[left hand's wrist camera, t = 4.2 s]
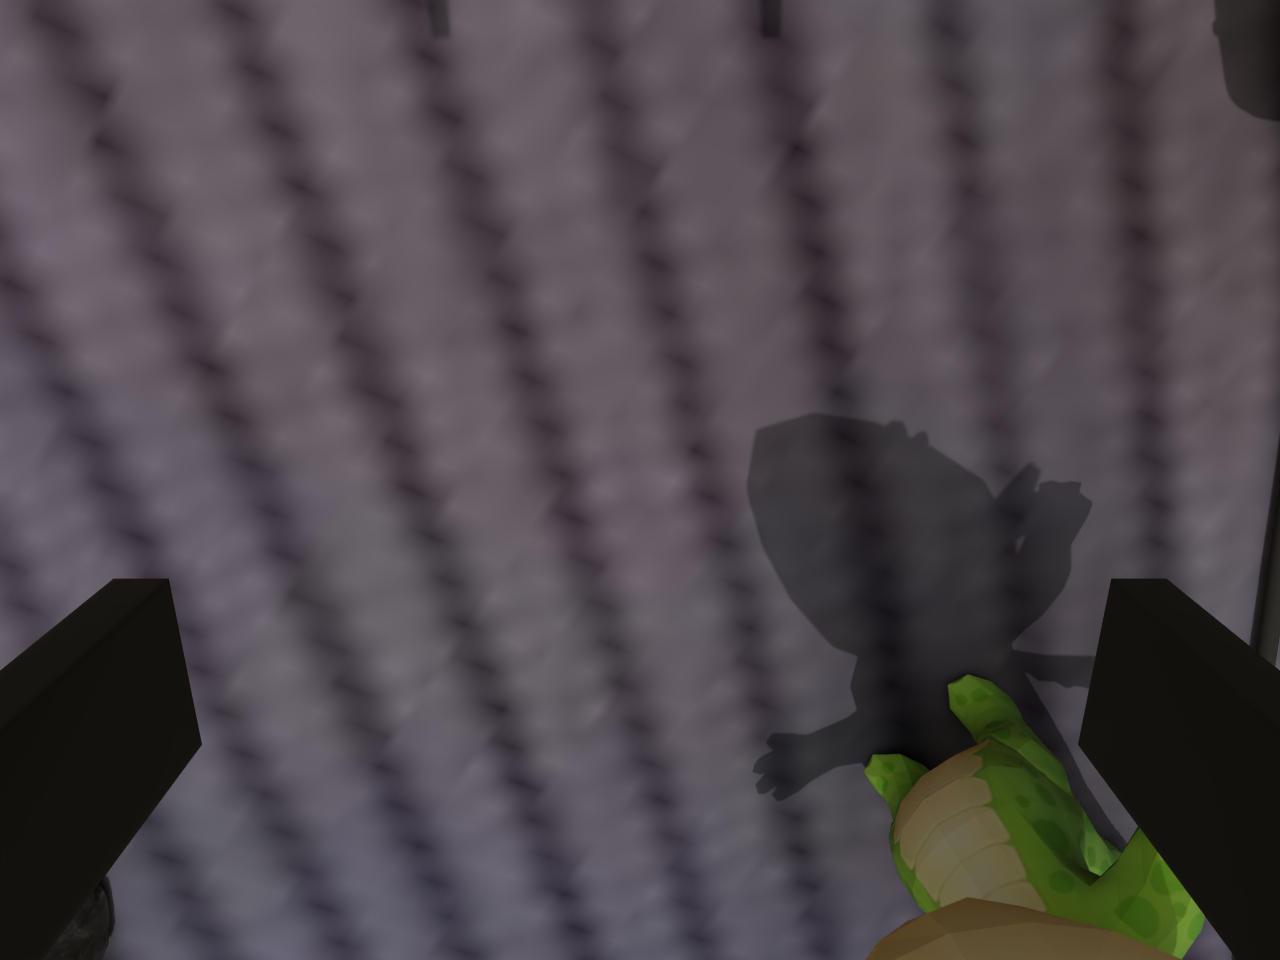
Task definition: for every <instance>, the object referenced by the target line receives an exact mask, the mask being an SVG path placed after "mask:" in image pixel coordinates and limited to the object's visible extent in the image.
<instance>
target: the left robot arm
mask: <svg viewBox="0 0 1280 960" xmlns="http://www.w3.org/2000/svg"><path fill="white" fill-rule="evenodd" d="M1279 637H1280V494H1279V501H1278V507H1277V514H1276V520H1275V527H1274V533H1273V540H1272V546H1271V553H1270V560H1269V567H1268V573H1267V580H1266V587H1265V594H1264V601H1263V608H1262V615H1261V622H1260V629H1259V636H1258V643H1257V650H1256V651H1255V650H1254V649H1252V648H1251V647H1250V646H1249V645H1248V644H1246V643H1245V642H1244V641H1243V640H1241V639H1240V638H1239V637H1238V636H1236V635H1235V634H1234V633H1233V632H1231V631H1230V630H1229V629H1228V628H1227V627H1225V626H1224V625H1223V624H1222V623H1220V622H1219V621H1218V620H1217V619H1215V618H1214V617H1213V616H1212V615H1210V614H1209V613H1208V612H1207V611H1206V610H1204V609H1203V608H1202V607H1201V606H1199V605H1198V604H1197V603H1196V602H1194V601H1193V600H1192V599H1191V598H1190V597H1188V596H1187V595H1186V594H1185V593H1183V592H1182V591H1181V590H1180V589H1178V588H1177V587H1176V586H1175V585H1173V584H1172V583H1171V582H1170V581H1169V580H1167V579H1111V583H1110V588H1109V593H1108V598H1107V603H1106V608H1105V613H1104V618H1103V623H1102V628H1101V633H1100V638H1099V643H1098V648H1097V653H1096V658H1095V663H1094V668H1093V673H1092V678H1091V683H1090V688H1089V693H1088V698H1087V703H1086V708H1085V713H1084V718H1083V723H1082V728H1081V733H1080V738H1079V743H1078V745H1079V747H1080V748H1081V749H1082V751H1083V752H1084V753H1085V755H1086V756H1087V757H1088V759H1089V760H1090V761H1091V763H1092V764H1093V765H1094V767H1095V768H1096V770H1097V771H1098V772H1099V774H1100V775H1101V776H1102V778H1103V779H1104V780H1105V782H1106V783H1107V784H1108V786H1109V787H1110V788H1111V790H1112V791H1113V792H1114V794H1115V795H1116V797H1117V798H1118V799H1119V801H1120V802H1121V803H1122V805H1123V806H1124V807H1125V809H1126V810H1127V811H1128V813H1129V814H1130V815H1131V817H1132V818H1133V820H1134V821H1135V822H1136V824H1137V825H1138V826H1139V828H1140V829H1141V830H1142V832H1143V833H1144V834H1145V836H1146V837H1147V838H1148V840H1149V841H1150V843H1151V844H1152V845H1153V847H1154V848H1155V849H1156V851H1157V852H1158V853H1159V855H1160V856H1161V857H1162V859H1163V860H1164V861H1165V863H1166V864H1167V865H1168V867H1169V868H1170V870H1171V871H1172V872H1173V874H1174V875H1175V876H1176V878H1177V879H1178V880H1179V882H1180V883H1181V884H1182V886H1183V887H1184V888H1185V890H1186V891H1187V893H1188V894H1189V895H1190V897H1191V898H1192V899H1193V901H1194V902H1195V903H1196V905H1197V906H1198V907H1199V909H1200V910H1201V911H1202V913H1203V914H1204V916H1205V917H1206V918H1207V920H1208V921H1209V922H1210V924H1211V925H1212V926H1213V928H1214V929H1215V930H1216V932H1217V933H1218V934H1219V936H1220V937H1221V938H1222V940H1223V941H1224V943H1225V944H1226V945H1227V947H1228V948H1229V949H1230V951H1231V952H1232V953H1233V955H1234V956H1235V957H1236V959H1237V960H1280V670H1278V669H1277V668H1276V667H1275V663H1276V657H1277V650H1278V644H1279ZM201 745H202V743H201V738H200V733H199V728H198V723H197V718H196V713H195V708H194V703H193V698H192V693H191V688H190V683H189V678H188V673H187V668H186V663H185V658H184V653H183V648H182V643H181V638H180V633H179V628H178V623H177V618H176V613H175V608H174V603H173V598H172V593H171V588H170V583H169V579H113V580H111V581H110V582H109V583H108V584H107V585H105V586H104V587H103V588H102V589H100V590H99V591H98V592H97V593H95V594H94V595H93V596H92V597H90V598H89V599H88V600H87V601H86V602H84V603H83V604H82V605H81V606H79V607H78V608H77V609H76V610H74V611H73V612H72V613H71V614H70V615H68V616H67V617H66V618H65V619H63V620H62V621H61V622H60V623H58V624H57V625H56V626H55V627H53V628H52V629H51V630H50V631H49V632H47V633H46V634H45V635H44V636H42V637H41V638H40V639H39V640H37V641H36V642H35V643H34V644H32V645H31V646H30V647H29V648H28V649H26V650H25V651H24V652H23V653H21V654H20V655H19V656H18V657H16V658H15V659H14V660H13V661H11V662H10V663H9V664H8V665H7V666H5V667H4V668H3V669H2V670H0V960H43V959H44V957H45V956H46V955H47V953H48V952H49V951H50V949H51V948H52V947H53V945H54V944H55V943H56V941H57V940H58V938H59V937H60V936H61V934H62V933H63V932H64V930H65V929H66V928H67V926H68V925H69V924H70V922H71V921H72V920H73V918H74V917H75V916H76V914H77V913H78V911H79V910H80V909H81V907H82V906H83V905H84V903H85V902H86V901H87V899H88V898H89V897H90V895H91V894H92V893H93V891H94V890H95V888H96V887H97V886H98V884H99V883H100V882H101V880H102V879H103V878H104V876H105V875H106V874H107V872H108V871H109V870H110V868H111V867H112V865H113V864H114V863H115V861H116V860H117V859H118V857H119V856H120V855H121V853H122V852H123V851H124V849H125V848H126V847H127V845H128V844H129V843H130V841H131V840H132V838H133V837H134V836H135V834H136V833H137V832H138V830H139V829H140V828H141V826H142V825H143V824H144V822H145V821H146V820H147V818H148V817H149V815H150V814H151V813H152V811H153V810H154V809H155V807H156V806H157V805H158V803H159V802H160V801H161V799H162V798H163V797H164V795H165V794H166V792H167V791H168V790H169V788H170V787H171V786H172V784H173V783H174V782H175V780H176V779H177V778H178V776H179V775H180V774H181V772H182V771H183V770H184V768H185V767H186V765H187V764H188V763H189V761H190V760H191V759H192V757H193V756H194V755H195V753H196V752H197V751H198V749H199V748H200V747H201Z"/></svg>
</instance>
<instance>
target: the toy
mask: <svg viewBox="0 0 1280 960" xmlns="http://www.w3.org/2000/svg"><path fill="white" fill-rule="evenodd" d="M948 693H949V703H950V709H951V710H952V711H953V712H954V714H955V715H956V716H957V717H958V718H959V720H960V721H961V722H962V723H963V724H964V726H965V727H966V728H967V729H968V730H969V732H970V733H971V734H972V736H973V738H974V740H975V742H976V744H977V745H976V746H973V747H971V748H969V749H967V750H965V751H962V752H960V753H958V754H956V755H954V756H953V757H951V758H949V759H948V760H946V761H945V762H943V763H942V764H940V765H939V766H937V767H936V768H934V769H933V770H931V771H930V770H929V769H928V768H926V767H925V766H924V765H922V764H920V763H918V762H916V761H914V760H912V759H910V758H907V757H905V756H903V755H901V754H873V756H872V757H871V759H870V761H869V763H868V765H867V767H866V768H865V770H864V772H865V774H866V776H867V777H868V779H869V780H870V782H871V784H872V785H873V787H874V788H875V789H876V791H877V792H878V793H879V794H880V795H881V796H882V797H883V798H884V799H885V800H886V801H887V803H888V804H889V807H890V810H891V813H892V818H893V821H892V823H891V828H890V835H889V841H890V847H891V852H892V857H893V861H894V863H895V865H896V868H897V872H898V875H899V878H900V879H901V881H902V882H903V884H904V885H905V887H906V888H907V890H908V891H909V893H910V894H911V896H912V897H913V899H914V900H915V902H916V903H917V905H918V906H919V907H920V908H921V909H922V910H923V911H924V912H925V913H926V914H924V915H922V916H919V917H917V918H914V919H912V920H910V921H907V922H906V923H904V924H903V925H901V926H900V927H899V928H897V929H896V930H894V931H893V932H892V933H890V934H889V935H887V936H886V937H884V938H883V939H882V940H880V941H879V942H878V943H877V944H876V946H875V947H874V948H873V950H872V951H871V953H870V954H869V956H868V957H867V959H866V960H1183V959H1182V958H1183V956H1184V955H1185V953H1186V952H1187V950H1188V949H1189V947H1190V946H1191V945H1192V943H1193V942H1194V940H1195V939H1196V937H1197V936H1198V934H1199V933H1200V932H1201V929H1202V926H1203V923H1204V919H1205V916H1204V914H1203V913H1202V911H1201V910H1200V909H1199V907H1198V906H1197V905H1196V903H1195V902H1194V901H1193V899H1192V898H1191V897H1190V895H1189V894H1188V893H1187V891H1186V890H1185V888H1184V887H1183V886H1182V884H1181V883H1180V882H1179V880H1178V879H1177V878H1176V876H1175V875H1174V874H1173V872H1172V871H1171V870H1170V868H1169V867H1168V865H1167V864H1166V863H1165V861H1164V860H1163V859H1162V857H1161V856H1160V855H1159V853H1158V852H1157V851H1156V849H1155V848H1154V847H1153V845H1152V844H1151V843H1150V841H1149V840H1148V838H1147V837H1146V836H1145V834H1144V833H1143V832H1142V830H1141V829H1140V828H1139V826H1138V827H1137V829H1136V831H1135V832H1134V834H1133V836H1132V837H1131V839H1130V841H1129V842H1128V844H1127V846H1126V847H1125V849H1124V851H1123V852H1121V851H1120V850H1118V849H1117V848H1116V847H1115V846H1113V845H1112V844H1111V843H1109V842H1108V841H1107V840H1105V839H1104V838H1102V837H1101V836H1100V835H1098V834H1097V832H1096V831H1095V829H1094V827H1093V825H1092V824H1091V822H1090V820H1089V818H1088V816H1087V815H1086V813H1085V811H1084V809H1083V808H1082V806H1081V805H1080V804H1079V802H1078V801H1077V800H1076V799H1075V797H1074V796H1073V795H1072V792H1071V788H1070V785H1069V782H1068V778H1067V775H1066V772H1065V769H1064V766H1063V765H1062V763H1061V761H1060V760H1059V759H1058V758H1057V757H1056V756H1055V755H1054V754H1053V753H1052V752H1051V751H1050V750H1049V749H1048V748H1047V747H1046V746H1045V745H1044V744H1043V743H1042V742H1041V741H1040V739H1039V738H1038V737H1037V736H1036V735H1035V734H1034V733H1033V731H1032V730H1031V729H1030V728H1029V727H1028V726H1027V724H1026V723H1025V722H1024V720H1023V718H1022V716H1021V714H1020V712H1019V709H1018V708H1017V706H1016V705H1015V703H1014V702H1013V700H1012V699H1011V697H1009V696H1008V695H1007V694H1006V693H1005V692H1003V691H1002V690H1001V689H1000V688H998V687H997V686H996V685H995V684H994V683H992V682H991V681H988V680H985V679H982V678H978V677H975V676H972V675H966V676H964V677H962V678H960V679H958V680H956V681H954V682H952V683H950V684H948Z"/></svg>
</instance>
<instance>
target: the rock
mask: <svg viewBox="0 0 1280 960" xmlns="http://www.w3.org/2000/svg"><path fill="white" fill-rule="evenodd" d="M109 920H110V918H109V905H108V900H107V896H106V894H105V891H104V888H102V887H101V886H100V885H99V884H98V886H97V887H96V888H95V890H94V891H93V893H92V894H91V895H90V897H89V898H88V899H87V901H86V902H85V903H84V905H83V906H82V907H81V909H80V910H79V911H78V913H77V914H76V916H75V917H74V918H73V920H72V921H71V922H70V924H69V925H68V926H67V928H66V929H65V930H64V932H63V933H62V934H61V936H60V937H59V938H58V940H57V941H56V943H55V944H54V945H53V947H52V948H51V949H50V951H49V952H48V953H47V955H46V956H45V957H44V959H43V960H102V958H103V956H104V954H105V951H106V948H107V946H108V936H109V930H108V928H109Z"/></svg>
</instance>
